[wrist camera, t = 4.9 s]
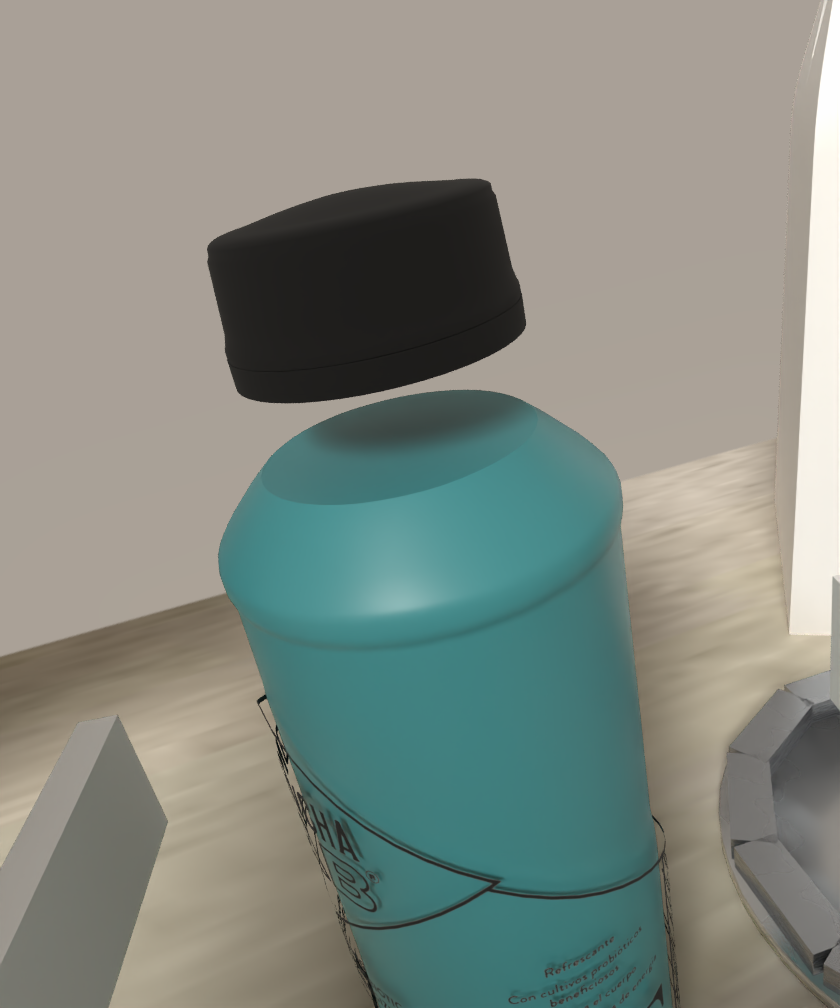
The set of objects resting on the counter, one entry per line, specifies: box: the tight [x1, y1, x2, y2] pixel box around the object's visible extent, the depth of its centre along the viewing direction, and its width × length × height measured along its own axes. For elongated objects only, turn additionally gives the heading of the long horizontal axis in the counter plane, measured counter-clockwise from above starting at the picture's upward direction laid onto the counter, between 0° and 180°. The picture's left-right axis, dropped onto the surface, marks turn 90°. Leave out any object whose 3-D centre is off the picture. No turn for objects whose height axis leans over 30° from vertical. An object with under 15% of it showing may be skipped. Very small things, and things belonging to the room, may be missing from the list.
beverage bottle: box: [207, 179, 680, 1008], centre depth 14 cm, size 6×7×20 cm
